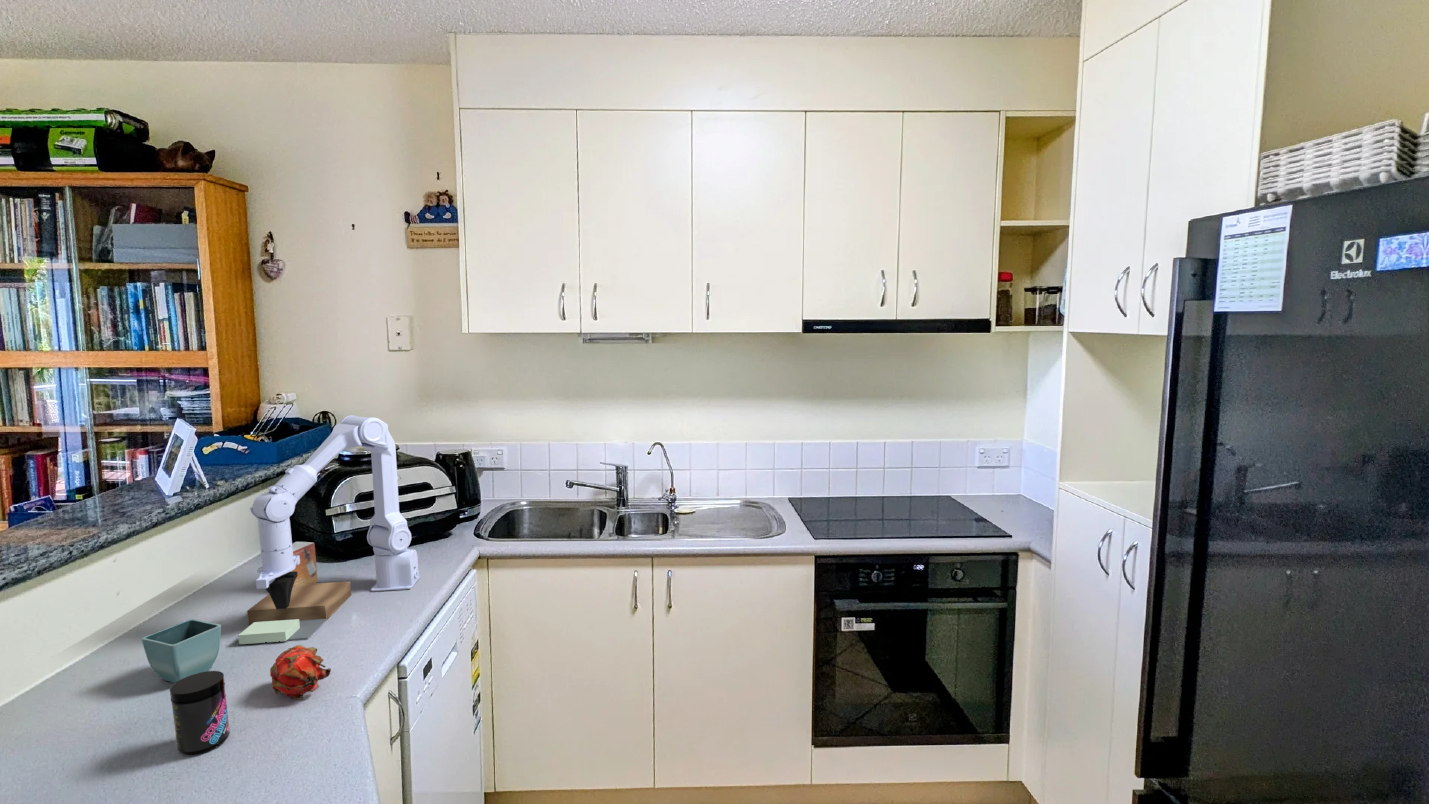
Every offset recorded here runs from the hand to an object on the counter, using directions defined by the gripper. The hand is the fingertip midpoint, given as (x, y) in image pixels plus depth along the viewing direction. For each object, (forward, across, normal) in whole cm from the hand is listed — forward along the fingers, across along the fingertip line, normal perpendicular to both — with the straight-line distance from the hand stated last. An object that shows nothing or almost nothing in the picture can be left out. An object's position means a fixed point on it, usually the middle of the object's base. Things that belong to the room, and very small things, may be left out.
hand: (282, 607), depth 145 cm
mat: (+4, +3, +1) cm, 5 cm away
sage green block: (+2, +5, 0) cm, 6 cm away
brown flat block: (+4, -8, 0) cm, 10 cm away
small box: (+5, -24, -8) cm, 25 cm away
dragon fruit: (+5, +28, +16) cm, 33 cm away
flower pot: (+5, +20, -8) cm, 22 cm away
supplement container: (+4, +42, +8) cm, 43 cm away
